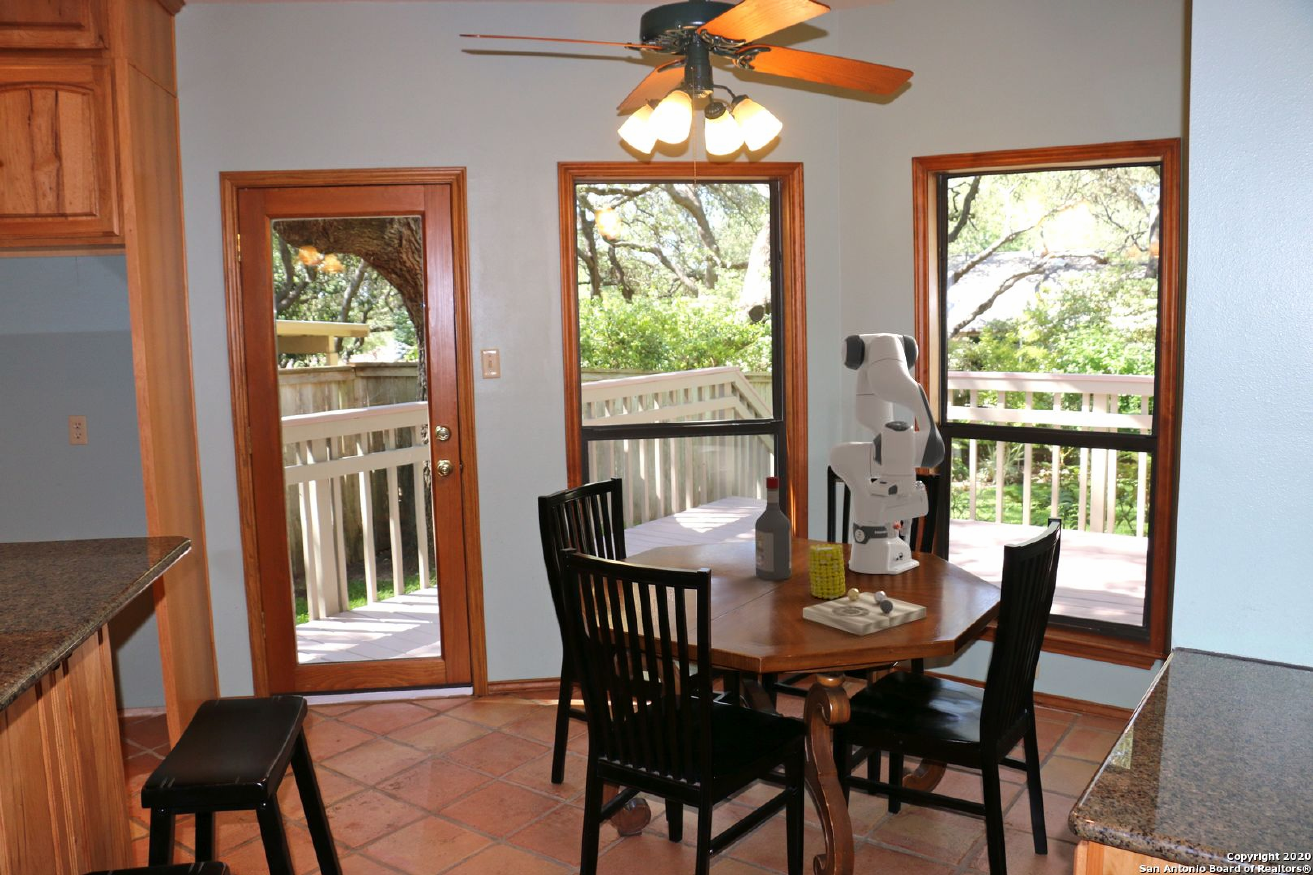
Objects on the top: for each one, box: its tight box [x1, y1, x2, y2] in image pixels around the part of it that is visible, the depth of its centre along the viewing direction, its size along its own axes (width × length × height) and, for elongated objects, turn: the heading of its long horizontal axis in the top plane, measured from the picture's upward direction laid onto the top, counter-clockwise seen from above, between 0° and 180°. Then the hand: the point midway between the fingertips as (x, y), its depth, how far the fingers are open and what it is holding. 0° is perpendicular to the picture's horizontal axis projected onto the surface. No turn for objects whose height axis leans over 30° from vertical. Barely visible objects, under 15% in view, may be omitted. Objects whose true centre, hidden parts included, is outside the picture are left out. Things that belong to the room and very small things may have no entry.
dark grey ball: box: [880, 600, 893, 613], centre depth 254 cm, size 3×3×3 cm
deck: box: [802, 591, 927, 636], centre depth 259 cm, size 24×20×2 cm
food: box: [808, 543, 846, 601], centre depth 280 cm, size 15×12×10 cm
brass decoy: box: [846, 588, 860, 601], centre depth 266 cm, size 3×3×3 cm
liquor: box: [754, 476, 792, 582], centre depth 301 cm, size 9×9×30 cm
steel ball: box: [874, 590, 888, 604], centre depth 262 cm, size 3×3×3 cm
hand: (898, 536), depth 265 cm, fingers open, 3 cm apart
